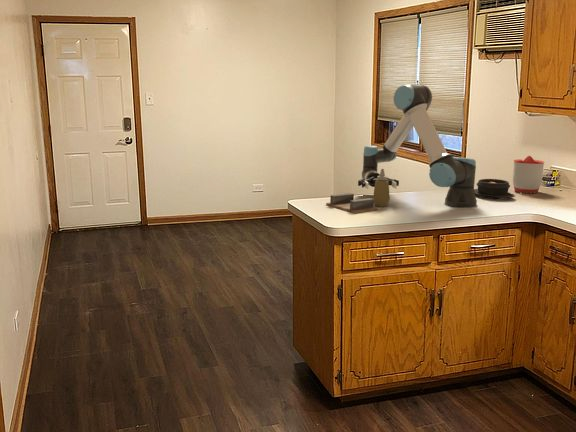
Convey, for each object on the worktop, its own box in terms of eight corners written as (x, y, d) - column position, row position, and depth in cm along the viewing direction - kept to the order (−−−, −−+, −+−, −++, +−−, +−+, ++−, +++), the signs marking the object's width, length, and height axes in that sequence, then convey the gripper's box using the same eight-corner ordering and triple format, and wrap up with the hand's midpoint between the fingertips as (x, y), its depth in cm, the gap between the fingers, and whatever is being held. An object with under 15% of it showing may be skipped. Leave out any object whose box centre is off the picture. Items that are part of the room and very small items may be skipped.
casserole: (523, 199, 323) (525, 183, 321) (495, 202, 316) (497, 186, 314) (488, 191, 345) (490, 176, 343) (462, 193, 338) (463, 178, 336)
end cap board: (378, 210, 295) (378, 199, 294) (355, 213, 288) (355, 202, 287) (348, 201, 313) (348, 192, 312) (326, 204, 306) (326, 194, 305)
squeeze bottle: (371, 204, 309) (372, 167, 305) (387, 203, 310) (388, 167, 306) (374, 207, 301) (376, 170, 297) (391, 207, 302) (392, 170, 298)
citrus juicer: (538, 189, 352) (542, 153, 348) (543, 195, 336) (547, 157, 331) (509, 188, 355) (512, 152, 351) (512, 193, 339) (516, 156, 335)
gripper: (397, 185, 324) (406, 193, 304) (349, 185, 323) (355, 193, 302) (397, 171, 323) (407, 178, 302) (349, 171, 321) (356, 178, 300)
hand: (381, 185), depth 302 cm, fingers open, 13 cm apart
